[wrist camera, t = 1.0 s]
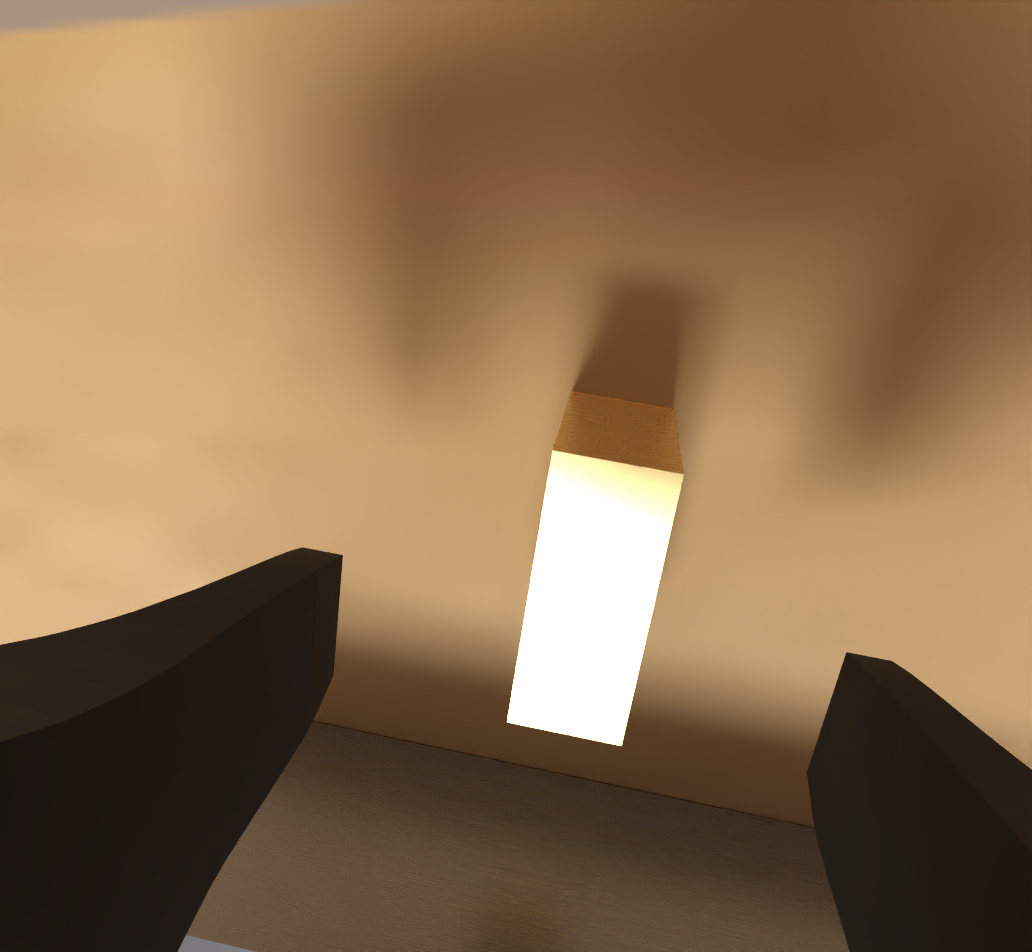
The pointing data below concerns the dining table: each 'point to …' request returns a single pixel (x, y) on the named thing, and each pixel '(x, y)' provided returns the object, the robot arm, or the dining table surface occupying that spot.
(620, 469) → the block
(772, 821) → the coin box
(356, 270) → the dining table surface
